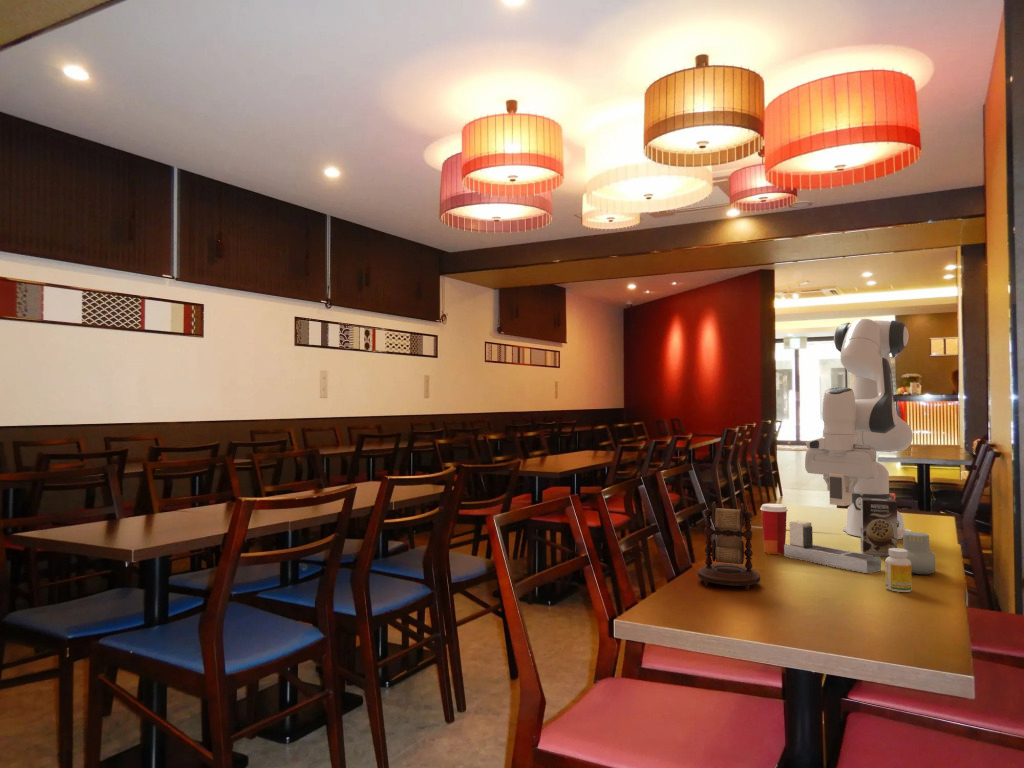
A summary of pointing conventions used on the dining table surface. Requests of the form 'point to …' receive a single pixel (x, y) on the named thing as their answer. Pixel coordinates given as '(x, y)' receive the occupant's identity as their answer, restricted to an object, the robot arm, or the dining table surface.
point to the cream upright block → (839, 490)
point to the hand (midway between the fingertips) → (840, 491)
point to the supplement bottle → (898, 570)
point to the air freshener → (919, 552)
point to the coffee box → (878, 526)
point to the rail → (826, 551)
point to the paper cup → (774, 527)
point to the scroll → (728, 548)
